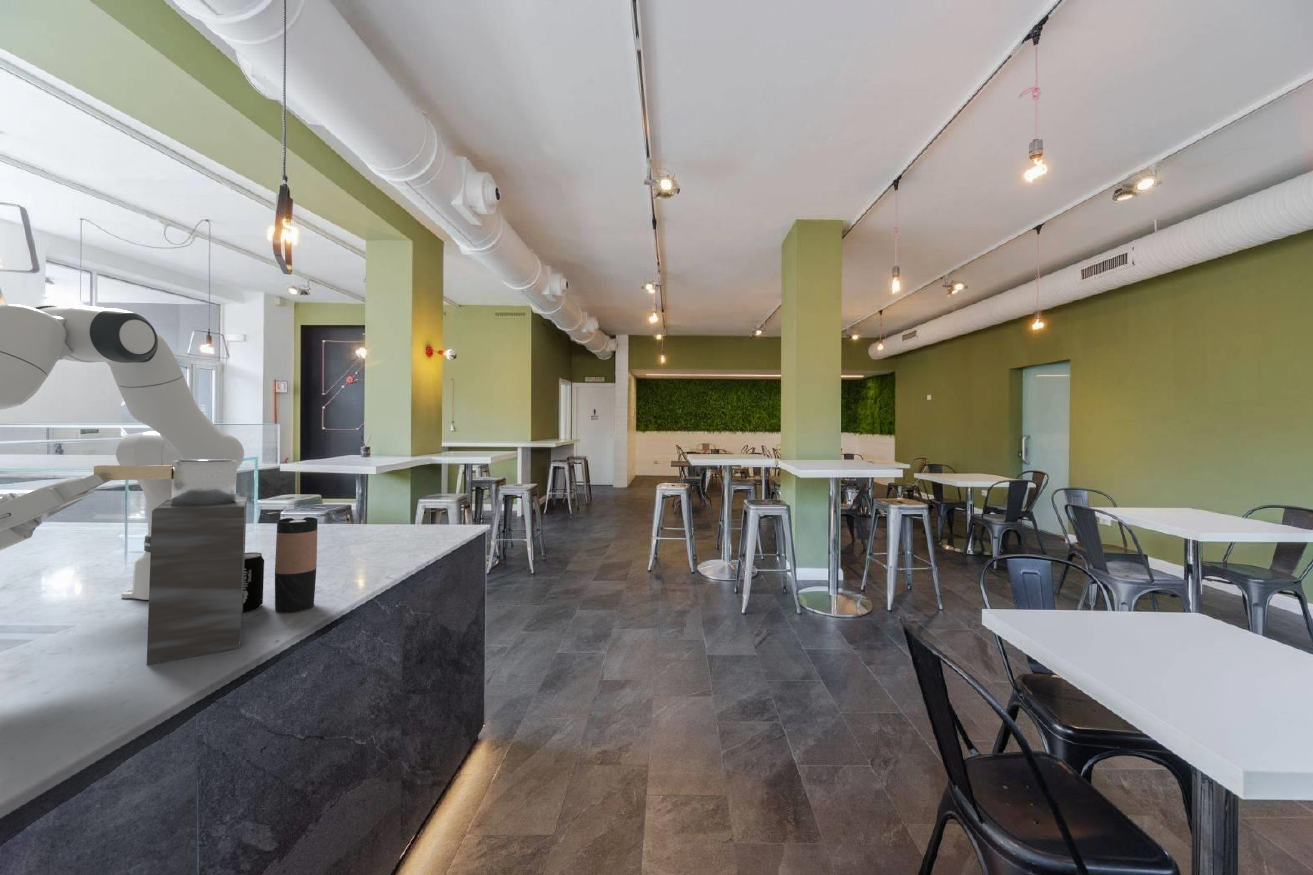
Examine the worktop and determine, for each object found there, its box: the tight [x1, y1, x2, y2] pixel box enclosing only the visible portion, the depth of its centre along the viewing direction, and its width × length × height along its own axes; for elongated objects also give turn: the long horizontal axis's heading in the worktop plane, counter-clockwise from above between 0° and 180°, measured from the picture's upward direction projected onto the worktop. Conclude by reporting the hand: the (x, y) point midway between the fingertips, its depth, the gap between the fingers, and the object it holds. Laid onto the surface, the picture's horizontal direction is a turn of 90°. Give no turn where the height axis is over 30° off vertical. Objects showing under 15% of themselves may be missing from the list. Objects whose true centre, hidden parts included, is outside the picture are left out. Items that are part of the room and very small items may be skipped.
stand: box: [146, 496, 248, 666], centre depth 94 cm, size 16×12×26 cm
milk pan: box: [93, 459, 238, 507], centre depth 91 cm, size 9×18×8 cm, turn 128°
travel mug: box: [274, 516, 318, 614], centre depth 113 cm, size 8×8×20 cm
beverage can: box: [243, 551, 265, 613], centre depth 111 cm, size 7×7×12 cm
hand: (107, 475), depth 86 cm, fingers open, 8 cm apart
